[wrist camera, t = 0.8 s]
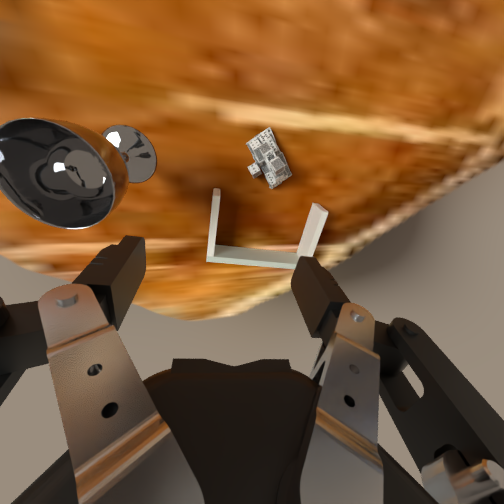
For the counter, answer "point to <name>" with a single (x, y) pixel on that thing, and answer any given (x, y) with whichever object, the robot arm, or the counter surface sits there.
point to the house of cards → (268, 159)
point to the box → (259, 255)
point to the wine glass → (70, 169)
